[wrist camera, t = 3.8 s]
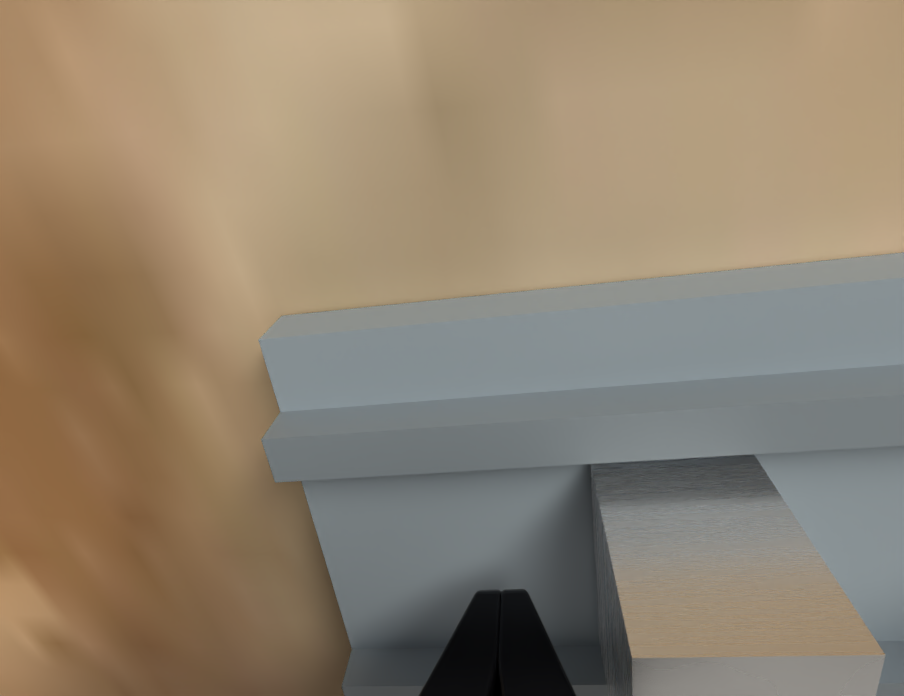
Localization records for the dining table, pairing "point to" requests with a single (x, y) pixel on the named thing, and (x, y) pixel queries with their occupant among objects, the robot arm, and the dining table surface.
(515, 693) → the robot arm
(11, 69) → the dining table surface
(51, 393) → the dining table surface
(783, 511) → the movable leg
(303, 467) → the board
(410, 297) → the dining table surface
